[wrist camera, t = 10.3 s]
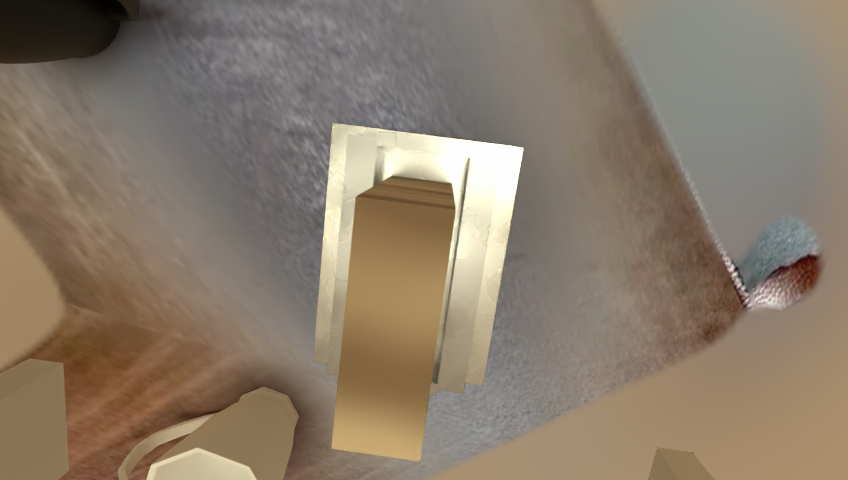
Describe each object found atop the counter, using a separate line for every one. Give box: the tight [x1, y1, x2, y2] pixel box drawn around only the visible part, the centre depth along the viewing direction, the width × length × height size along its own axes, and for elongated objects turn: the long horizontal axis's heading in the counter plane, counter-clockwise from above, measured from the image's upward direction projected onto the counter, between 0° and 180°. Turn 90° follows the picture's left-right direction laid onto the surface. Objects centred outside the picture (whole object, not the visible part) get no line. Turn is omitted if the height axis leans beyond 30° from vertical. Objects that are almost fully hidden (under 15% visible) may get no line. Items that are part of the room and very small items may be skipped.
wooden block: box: [331, 175, 456, 461], centre depth 22 cm, size 10×4×11 cm, turn 173°
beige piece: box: [313, 123, 523, 396], centre depth 27 cm, size 15×11×3 cm
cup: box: [118, 386, 299, 480], centre depth 27 cm, size 7×10×8 cm
